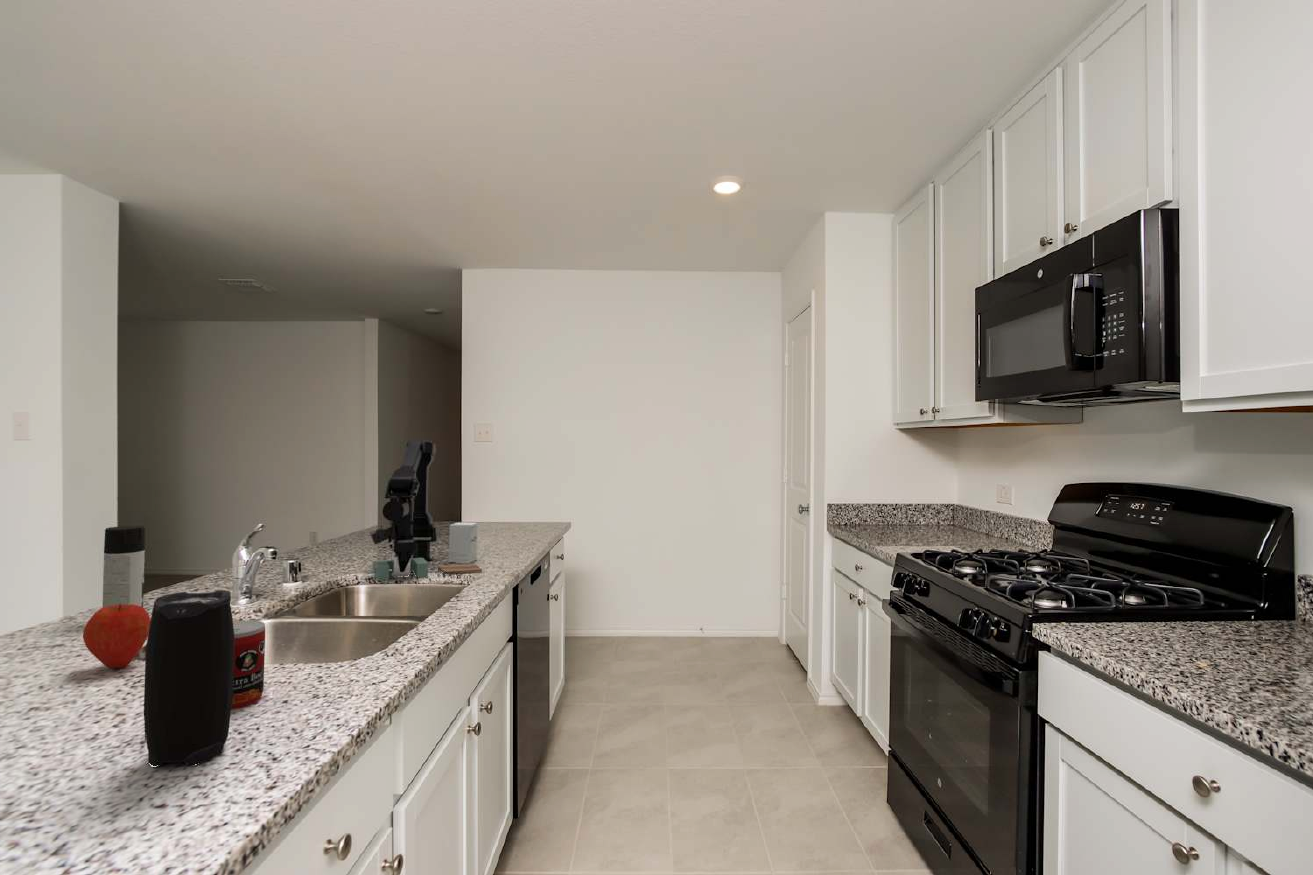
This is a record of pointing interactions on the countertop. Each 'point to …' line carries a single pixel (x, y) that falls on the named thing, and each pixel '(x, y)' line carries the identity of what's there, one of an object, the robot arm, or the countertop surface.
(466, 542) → the supplement box
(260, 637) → the canned food
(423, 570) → the vise
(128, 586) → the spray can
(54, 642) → the countertop surface
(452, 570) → the copper plate
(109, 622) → the apple
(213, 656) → the portable speaker
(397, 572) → the steel block
